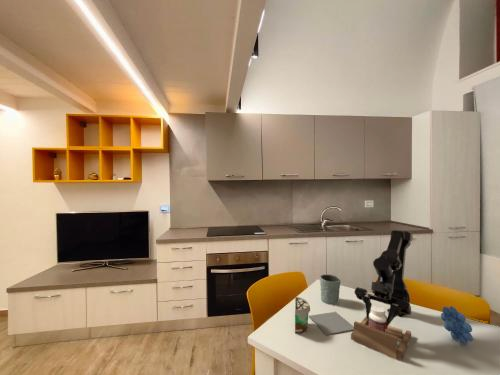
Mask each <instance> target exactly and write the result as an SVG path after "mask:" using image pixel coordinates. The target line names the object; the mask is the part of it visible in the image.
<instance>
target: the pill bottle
mask: <svg viewBox="0 0 500 375" xmlns="http://www.w3.org/2000/svg"><path fill="white" fill-rule="evenodd" d="M387 317H388V316H387V315H386V309H385V308H384V307H382V306H379V305H372V306H371V311H370V313H369V324H368V326H370V327H372V328H375V329H378V330H380V331H383V332H386V333H387V328H388V326H386V321H387Z"/></svg>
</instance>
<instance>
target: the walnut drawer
mask: <svg viewBox="0 0 500 375" xmlns="http://www.w3.org/2000/svg"><path fill="white" fill-rule="evenodd" d="M353 326H354V331H351V333H350V340H351V341H353V342H355V343H357V344H360V345H361V346H364V347H366V348H369V349H371V350H373V351H376V352H377V353H379V354H383V355H385V356H386V357H387V356H388V357H389V358H391V359H393V360H398V361H402V359H403V357H404V355H405V352H406V350H407V347H408V345H409V343H410V341H411V338H412V331H410V330H408V329H406V331H405V332H404V336H403V339H402V341H401V342H399V344H398V341H397V337H396V336H394V335H391V334H388V333H386V332H383V331H380V330H378V329H375V328H372V327H370V326H369V319H367V315H366V316H365V317H364V318H363V319H362V320H361V322H358V321H356V320H355V321H354V322H353Z"/></svg>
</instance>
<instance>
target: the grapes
mask: <svg viewBox="0 0 500 375" xmlns="http://www.w3.org/2000/svg"><path fill="white" fill-rule="evenodd" d="M441 310H442V313H440V318H441V320H442V321H443V322H444V323H443V327H444V329H445V330H446V331H448V332H449V333H450V336H451V338H452V339H453V340H455V341H459V342H460V343H461V344H463V345H467V344H468V343H469V342H472V341H473V340H474V336H473V335H472V332H473V327H472V325H471V324H470V323H468V322H466V321H467V317H466V316H465V315H464V314H463V312H460V311H459V312H458V309H457V308H456V307H454V306H449V307H447V306H443V307H442V309H441Z"/></svg>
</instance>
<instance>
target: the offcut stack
mask: <svg viewBox="0 0 500 375" xmlns="http://www.w3.org/2000/svg"><path fill="white" fill-rule="evenodd" d="M387 333H388V334H391V335H394V336H396V337H397V343H401V341H402V339H403V336H404V334H405V332H403V328H402V329H401V328H399V327H395V326H391V325H390V324H389V325H388V328H387Z"/></svg>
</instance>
